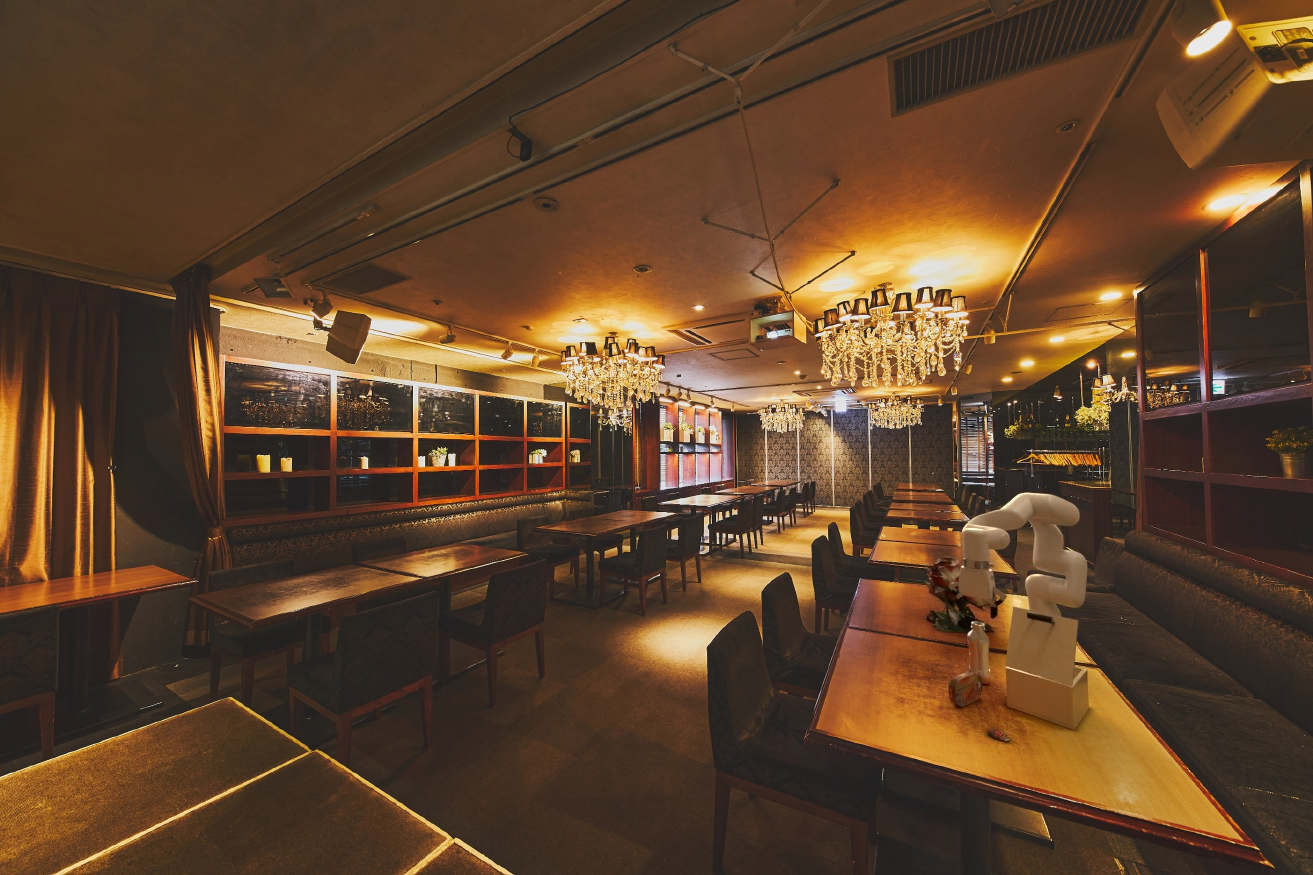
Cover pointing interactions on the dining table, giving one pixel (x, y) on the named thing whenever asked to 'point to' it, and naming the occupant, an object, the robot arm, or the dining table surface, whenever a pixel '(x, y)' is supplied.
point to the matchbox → (998, 734)
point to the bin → (1049, 696)
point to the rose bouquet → (952, 598)
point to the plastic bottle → (979, 652)
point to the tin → (965, 688)
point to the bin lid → (1042, 645)
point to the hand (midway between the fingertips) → (977, 613)
